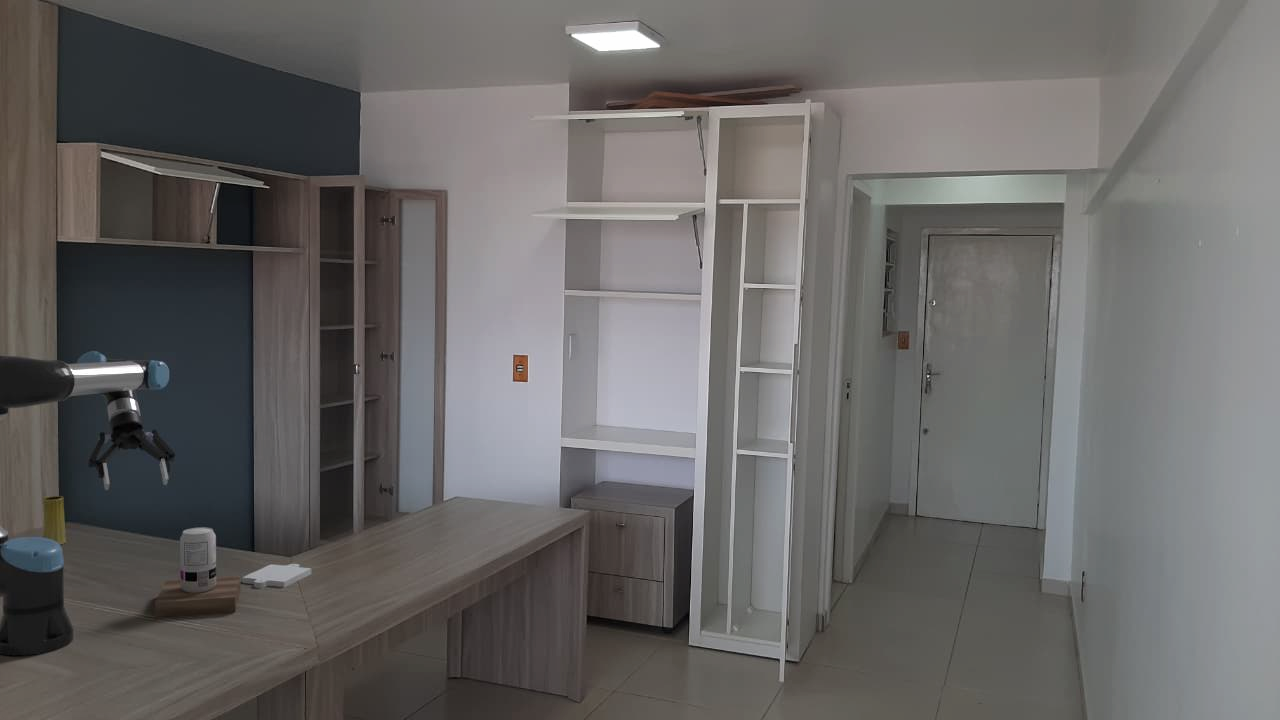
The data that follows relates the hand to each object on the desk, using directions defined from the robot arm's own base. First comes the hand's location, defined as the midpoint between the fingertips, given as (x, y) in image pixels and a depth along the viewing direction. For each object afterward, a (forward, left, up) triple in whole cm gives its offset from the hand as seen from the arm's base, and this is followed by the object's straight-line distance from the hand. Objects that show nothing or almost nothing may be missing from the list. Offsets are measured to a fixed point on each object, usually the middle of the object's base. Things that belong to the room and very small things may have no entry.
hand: (137, 484), depth 250 cm
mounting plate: (+9, -33, -30) cm, 46 cm away
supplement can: (-9, -15, -26) cm, 31 cm away
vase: (+61, +33, -30) cm, 76 cm away
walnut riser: (-9, -15, -30) cm, 35 cm away
